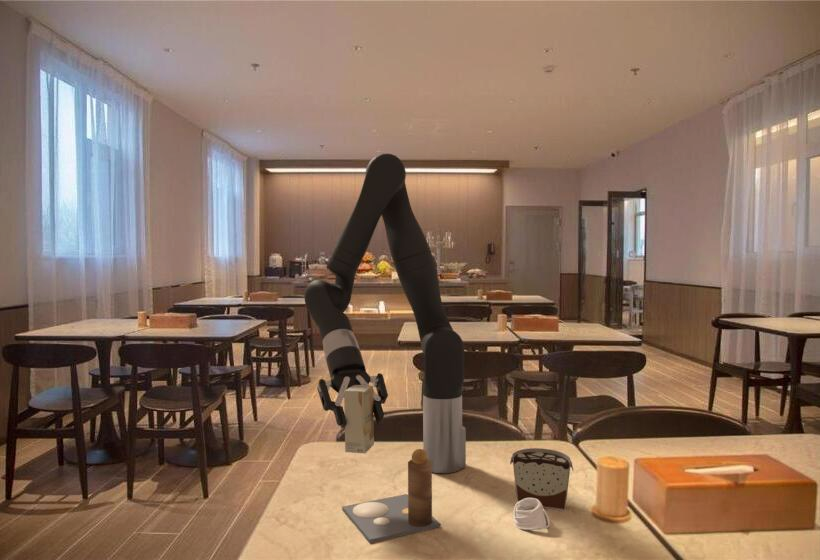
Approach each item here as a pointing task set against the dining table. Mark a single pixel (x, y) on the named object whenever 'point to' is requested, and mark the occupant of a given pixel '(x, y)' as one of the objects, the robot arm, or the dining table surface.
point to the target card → (384, 518)
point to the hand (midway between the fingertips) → (362, 423)
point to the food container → (542, 476)
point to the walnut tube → (420, 489)
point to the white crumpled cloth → (530, 515)
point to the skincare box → (359, 418)
